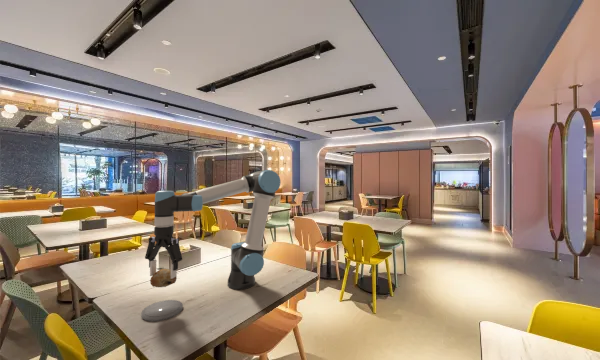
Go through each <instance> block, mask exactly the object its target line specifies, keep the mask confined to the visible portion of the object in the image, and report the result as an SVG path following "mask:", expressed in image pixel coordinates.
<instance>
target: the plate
mask: <svg viewBox="0 0 600 360" xmlns="http://www.w3.org/2000/svg"><path fill="white" fill-rule="evenodd" d="M183 308H184V305H183V302H182V301H180V300H176V299H168V300H167V299H165V300H160V301H157V302H154V303H151V304H149V305H147V306H146V307H145V308H143V309H142V311H141V315H140V316H141V319H142V320H144V321H147V322H160V321H164V320H168V319H171V318H174V317H175V316H177V315H178V314H180V313H181V312H183Z"/></svg>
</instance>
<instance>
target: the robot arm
mask: <svg viewBox="0 0 600 360" xmlns="http://www.w3.org/2000/svg"><path fill="white" fill-rule="evenodd" d="M281 183H282V182H281V178H280V176H279V174H278V173H277V172H276V171H274V170H270V169H263V170H258V171H254V172H252V173H250V174H247V175H243V176H242V177H241V178H239V179H235V180H232V181H227V182H223V183H220V184H216V185H213V186H209V187H204V188H202V189H199V190H195V191H190V192H185V193H182V194H175V191H174V190H158V191H156V192H155V193H154V194H155V195H154V223H153V225H154V227H153V228H154V229H153V231H154V232H153V233H154V234H153V235H154V236H151V237H148V244H147V248H146V253H145V256H144V259H145V260H148V268H149V276H150V277H152V276H153V275H154V274H155V273H156V272H157V259H156V257H157V255H158V253H159V251H160V249H161V248H164V249H165V250H167V253H168V256H169V257H170V260H171V263H170V269H171V279H172V278H174V277H178V276H177V274H178V273H177V272H178V271H177V270H178V268H179V262H182V261H183V256H182V252H181V247H180V239H179V238H174V236H173V235H174V227H175V226H174V223H175V221H174V219H175V218H174V217H175V216H174V215H175V213H179V212H181V213H182V212H199V211H202V210H203V206H204V205H203V204H208V203H210V202H215V201H217V200H221V199H224V198H228V197H231V196H235V195H238V194H241V193H245V192H246V193H252V194H253V196H254V199H253V204H252V208H251V213H250V218H249V223H248V227H247V230H246V231H247V232H246V235H245V236H246V237H245V241H241V242H234V243H232V245H231V248H230V252H231V253H230V255H231V256H230V273H229V276H228V278H227V287H228V288H229V289H232V290H246V289H249V288H252V287H253V286H255V284H256V277H255V276H256V275H257V274H259V273H260V272H261V271H262V269H263V268H264V265H265V260H264V257H263V253H264V247H263V246H262V243H263V239H264V234H265V229H266V223H267V220H268V215H269V210H270V206H271V200H273V199H274V198H275V197H276V196H275V195H276V192H277V191H278V190H279V188H280V186H281Z"/></svg>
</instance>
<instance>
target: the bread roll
mask: <svg viewBox="0 0 600 360" xmlns="http://www.w3.org/2000/svg"><path fill="white" fill-rule="evenodd" d="M177 277H178V276H176V277H174V278H172V279H171V268H170V269H169V268H162V269H161V268H160V269H158V270H156V273H155V274H154V275H153V276H150V280H149V281H150V285H151V286H152V287H154V288H166V287H168V286H170V285H173V284H175V283H176V281H177Z"/></svg>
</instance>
